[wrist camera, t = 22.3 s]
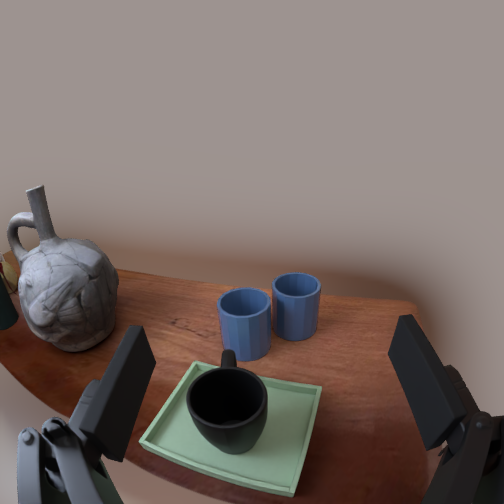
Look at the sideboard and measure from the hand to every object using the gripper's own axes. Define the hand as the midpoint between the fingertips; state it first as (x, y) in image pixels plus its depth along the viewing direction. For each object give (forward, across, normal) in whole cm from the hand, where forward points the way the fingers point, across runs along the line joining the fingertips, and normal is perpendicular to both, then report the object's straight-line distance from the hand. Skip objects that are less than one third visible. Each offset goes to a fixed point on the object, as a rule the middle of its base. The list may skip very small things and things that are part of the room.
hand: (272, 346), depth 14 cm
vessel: (+26, -38, -24) cm, 52 cm away
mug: (+9, -5, -23) cm, 25 cm away
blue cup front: (+25, -4, -24) cm, 35 cm away
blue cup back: (+29, +5, -24) cm, 38 cm away
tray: (+9, -5, -24) cm, 26 cm away
